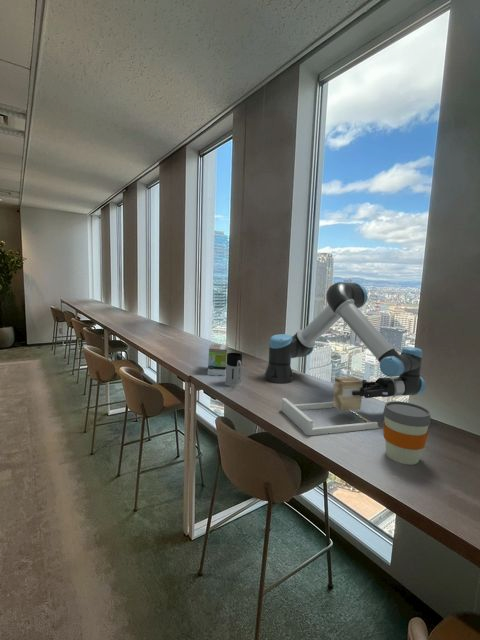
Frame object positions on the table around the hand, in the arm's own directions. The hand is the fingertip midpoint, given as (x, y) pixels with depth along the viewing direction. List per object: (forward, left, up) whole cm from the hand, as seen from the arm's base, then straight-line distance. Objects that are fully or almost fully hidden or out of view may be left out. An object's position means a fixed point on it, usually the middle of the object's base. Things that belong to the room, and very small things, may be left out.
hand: (338, 390), depth 123 cm
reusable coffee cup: (+29, +4, -11) cm, 31 cm away
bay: (0, -3, -11) cm, 12 cm away
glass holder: (-44, -28, -11) cm, 53 cm away
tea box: (-69, -31, -11) cm, 77 cm away
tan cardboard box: (0, +4, -7) cm, 8 cm away
